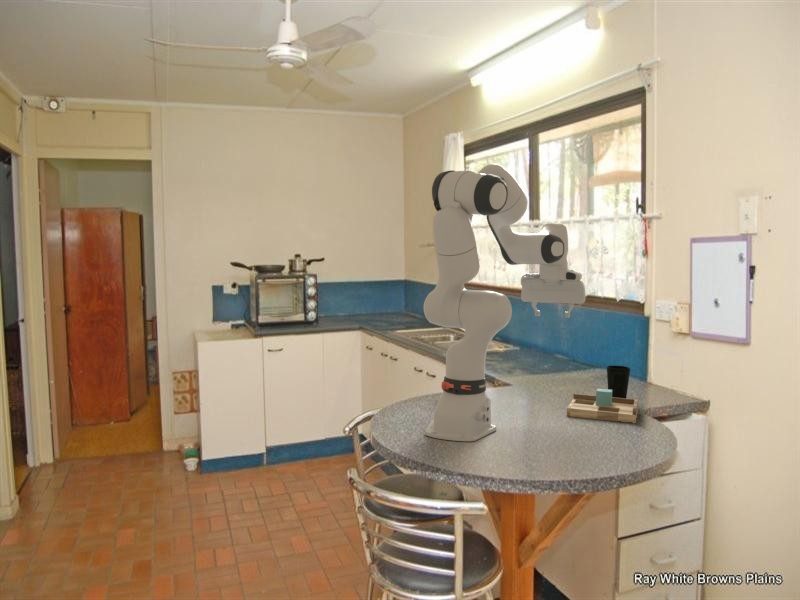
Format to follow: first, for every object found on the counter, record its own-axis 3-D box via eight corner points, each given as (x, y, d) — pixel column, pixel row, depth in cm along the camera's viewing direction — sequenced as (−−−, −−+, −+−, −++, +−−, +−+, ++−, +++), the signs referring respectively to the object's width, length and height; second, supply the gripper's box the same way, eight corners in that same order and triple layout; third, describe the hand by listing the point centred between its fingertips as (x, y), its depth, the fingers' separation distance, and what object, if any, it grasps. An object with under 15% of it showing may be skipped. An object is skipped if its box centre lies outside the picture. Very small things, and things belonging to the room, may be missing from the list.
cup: (625, 399, 218) (627, 365, 218) (631, 404, 211) (633, 369, 210) (603, 399, 219) (604, 365, 219) (608, 403, 212) (609, 368, 211)
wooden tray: (635, 423, 186) (636, 408, 185) (566, 415, 193) (567, 401, 193) (637, 411, 200) (638, 398, 200) (573, 405, 208) (573, 392, 208)
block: (610, 406, 196) (611, 392, 196) (595, 405, 198) (596, 390, 198) (611, 403, 200) (612, 389, 200) (597, 402, 202) (597, 388, 202)
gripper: (519, 273, 202) (518, 316, 203) (584, 275, 194) (583, 319, 196) (522, 273, 208) (522, 314, 209) (586, 274, 200) (585, 317, 201)
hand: (552, 316), depth 202 cm, fingers open, 8 cm apart
